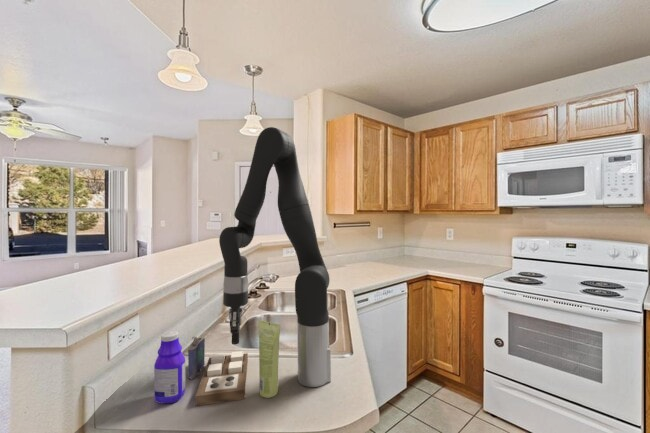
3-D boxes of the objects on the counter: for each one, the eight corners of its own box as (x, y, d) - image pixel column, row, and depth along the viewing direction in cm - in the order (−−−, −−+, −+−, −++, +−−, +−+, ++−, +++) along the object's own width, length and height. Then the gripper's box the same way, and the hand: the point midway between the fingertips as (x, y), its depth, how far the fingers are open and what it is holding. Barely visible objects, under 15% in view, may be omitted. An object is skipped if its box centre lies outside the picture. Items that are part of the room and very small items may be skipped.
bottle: (189, 391, 80) (188, 328, 79) (179, 404, 74) (178, 337, 74) (162, 391, 80) (161, 329, 79) (150, 405, 74) (149, 338, 74)
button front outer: (222, 371, 87) (222, 363, 87) (220, 378, 83) (220, 369, 83) (209, 372, 86) (209, 364, 86) (207, 379, 83) (207, 371, 82)
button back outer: (224, 360, 93) (224, 352, 93) (223, 366, 90) (223, 358, 90) (212, 361, 92) (212, 354, 92) (211, 367, 89) (210, 359, 89)
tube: (279, 385, 82) (278, 317, 82) (281, 396, 77) (280, 324, 77) (258, 388, 81) (258, 319, 80) (259, 400, 76) (258, 326, 75)
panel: (247, 360, 96) (247, 352, 96) (244, 398, 76) (244, 387, 76) (209, 365, 93) (209, 356, 93) (195, 405, 74) (195, 394, 74)
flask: (195, 379, 85) (194, 343, 85) (185, 379, 85) (184, 343, 85) (206, 363, 95) (205, 330, 94) (197, 363, 94) (196, 331, 94)
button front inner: (242, 368, 88) (242, 360, 88) (241, 375, 85) (241, 367, 85) (229, 370, 87) (229, 362, 87) (228, 377, 84) (228, 368, 84)
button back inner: (243, 358, 94) (243, 350, 94) (242, 364, 91) (242, 356, 91) (231, 359, 94) (231, 352, 94) (230, 365, 90) (230, 357, 90)
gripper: (247, 294, 86) (246, 352, 86) (248, 283, 99) (248, 333, 99) (220, 295, 84) (220, 354, 85) (225, 284, 97) (225, 335, 98)
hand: (235, 343), depth 92 cm, fingers closed
